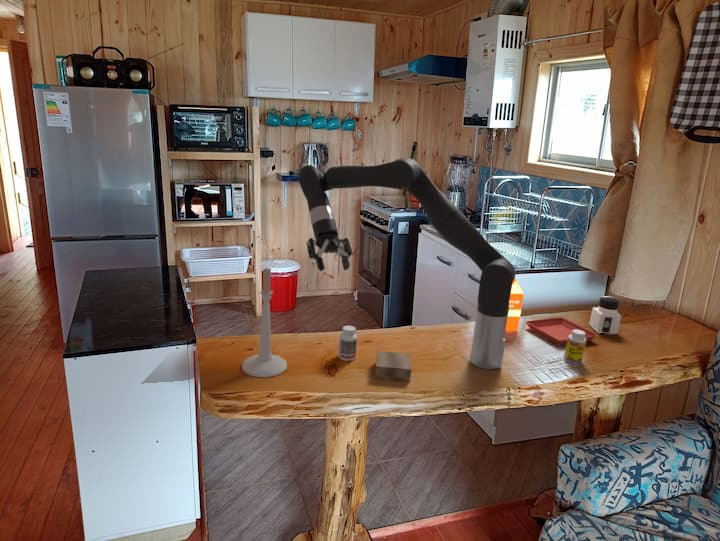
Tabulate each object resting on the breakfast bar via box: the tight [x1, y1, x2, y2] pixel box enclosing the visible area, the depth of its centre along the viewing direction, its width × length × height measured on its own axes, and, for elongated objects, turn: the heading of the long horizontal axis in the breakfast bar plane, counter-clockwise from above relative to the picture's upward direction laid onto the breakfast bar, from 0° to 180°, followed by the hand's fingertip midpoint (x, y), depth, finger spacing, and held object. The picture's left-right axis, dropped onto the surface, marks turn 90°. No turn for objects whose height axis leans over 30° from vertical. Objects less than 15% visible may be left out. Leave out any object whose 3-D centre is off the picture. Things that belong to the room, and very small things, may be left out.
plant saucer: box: [525, 316, 598, 346], centre depth 192 cm, size 18×18×3 cm
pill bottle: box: [338, 325, 358, 362], centre depth 161 cm, size 5×5×10 cm
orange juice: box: [505, 278, 525, 332], centre depth 193 cm, size 8×9×20 cm
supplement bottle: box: [563, 329, 587, 365], centre depth 171 cm, size 6×6×10 cm
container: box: [588, 295, 622, 335], centre depth 198 cm, size 8×8×13 cm
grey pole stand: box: [241, 267, 288, 378], centre depth 148 cm, size 13×13×30 cm
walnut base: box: [374, 350, 412, 383], centre depth 155 cm, size 10×10×4 cm
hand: (334, 269), depth 163 cm, fingers open, 8 cm apart
